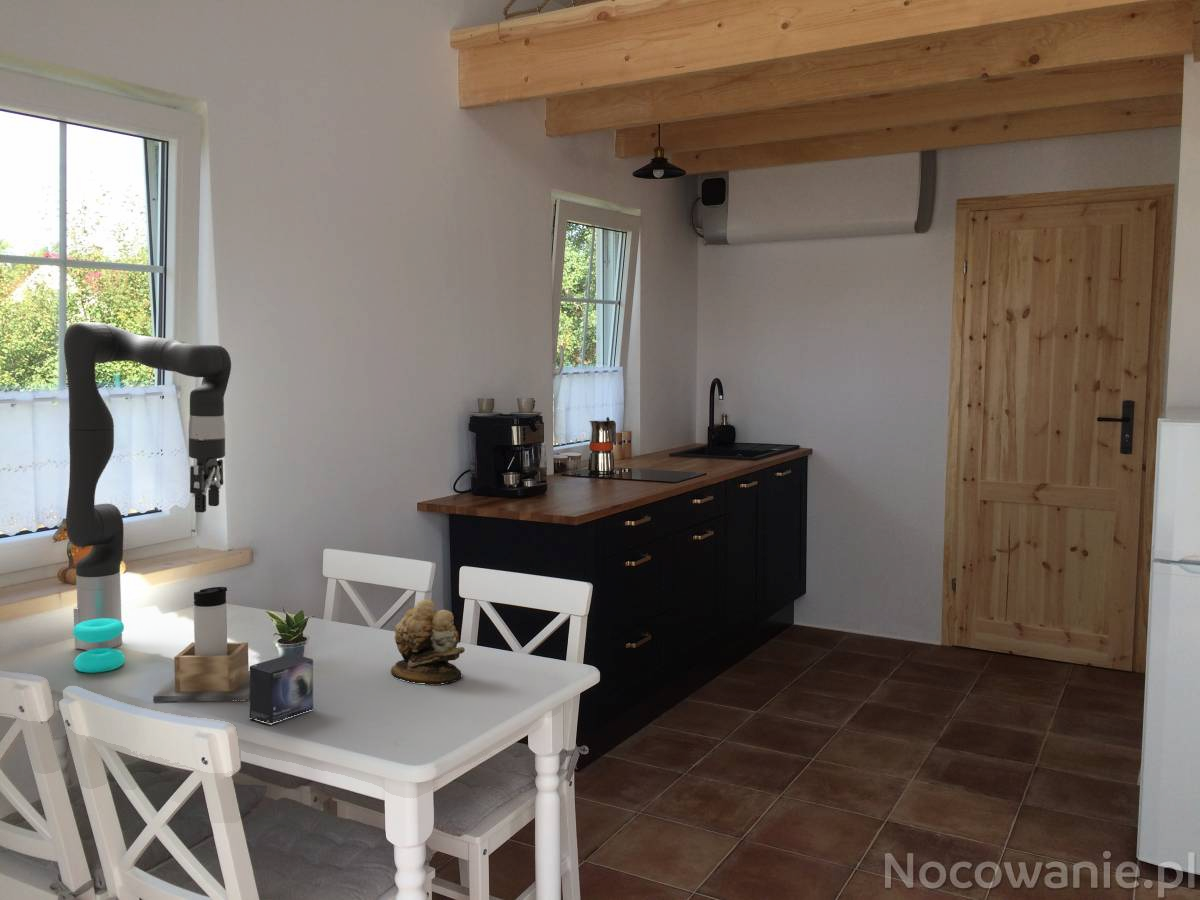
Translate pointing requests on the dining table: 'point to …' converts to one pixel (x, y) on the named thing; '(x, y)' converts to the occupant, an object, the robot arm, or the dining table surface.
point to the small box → (281, 688)
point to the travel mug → (210, 622)
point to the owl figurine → (427, 645)
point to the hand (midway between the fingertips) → (207, 508)
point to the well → (209, 676)
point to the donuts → (101, 656)
